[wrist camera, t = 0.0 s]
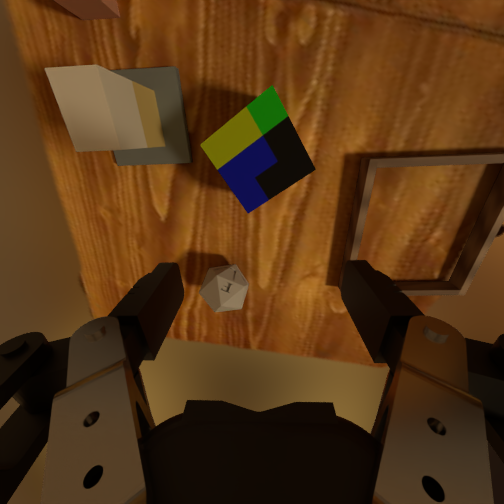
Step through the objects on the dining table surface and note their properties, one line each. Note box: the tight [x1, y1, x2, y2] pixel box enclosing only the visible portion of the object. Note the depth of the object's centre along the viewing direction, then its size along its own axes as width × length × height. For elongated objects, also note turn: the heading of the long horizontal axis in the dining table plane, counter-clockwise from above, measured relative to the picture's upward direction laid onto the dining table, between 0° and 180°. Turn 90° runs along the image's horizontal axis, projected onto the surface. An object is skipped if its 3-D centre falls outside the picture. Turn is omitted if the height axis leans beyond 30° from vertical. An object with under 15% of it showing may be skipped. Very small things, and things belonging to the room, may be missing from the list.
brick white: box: [45, 65, 148, 152], centre depth 24 cm, size 7×5×6 cm
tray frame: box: [338, 152, 504, 295], centre depth 38 cm, size 25×23×3 cm
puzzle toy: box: [200, 85, 316, 213], centre depth 30 cm, size 10×10×10 cm
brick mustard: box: [132, 81, 165, 148], centre depth 29 cm, size 7×5×6 cm
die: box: [199, 264, 249, 312], centre depth 41 cm, size 8×9×10 cm
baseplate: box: [110, 67, 192, 166], centre depth 32 cm, size 12×12×1 cm
